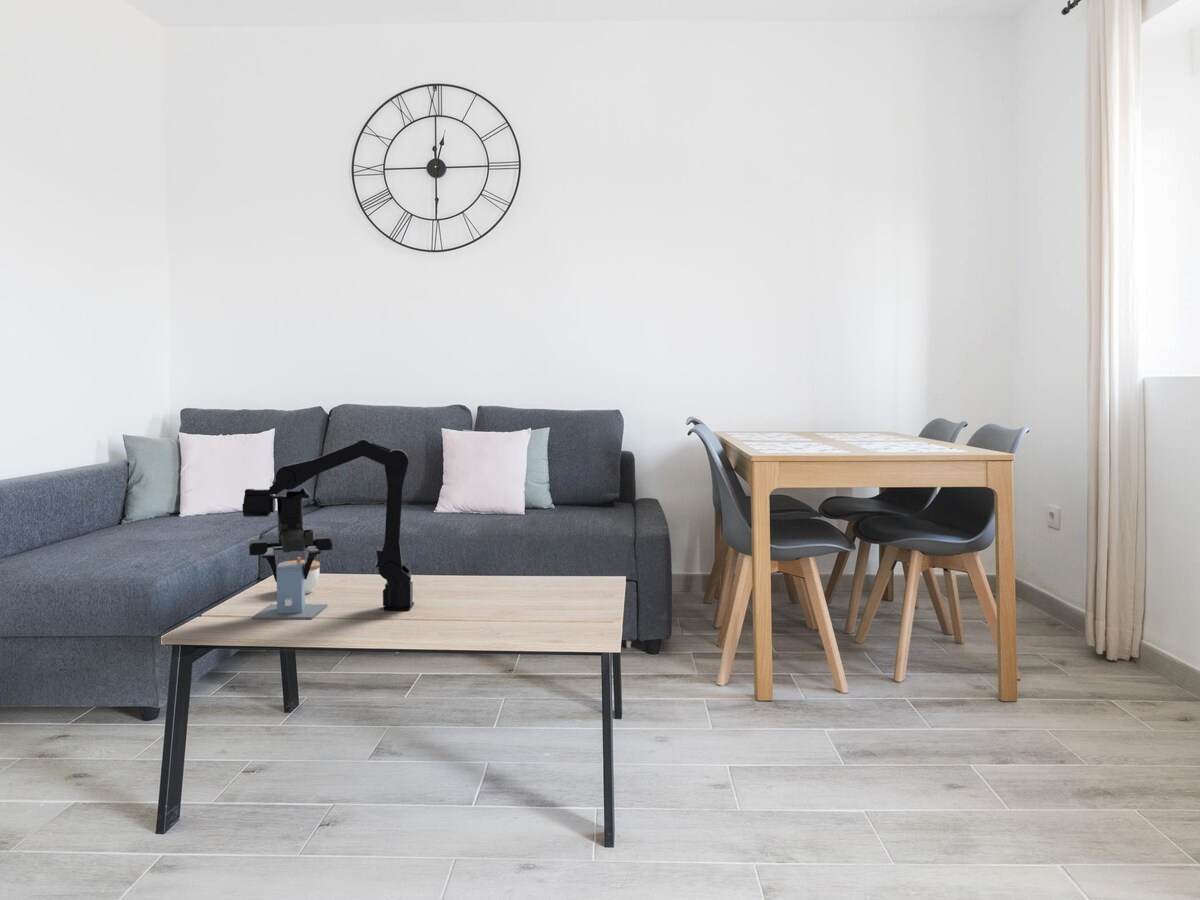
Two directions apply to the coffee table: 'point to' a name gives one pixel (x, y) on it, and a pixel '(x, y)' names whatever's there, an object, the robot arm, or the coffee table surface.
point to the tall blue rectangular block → (290, 588)
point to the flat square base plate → (307, 613)
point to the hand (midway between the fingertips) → (291, 580)
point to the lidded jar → (309, 574)
